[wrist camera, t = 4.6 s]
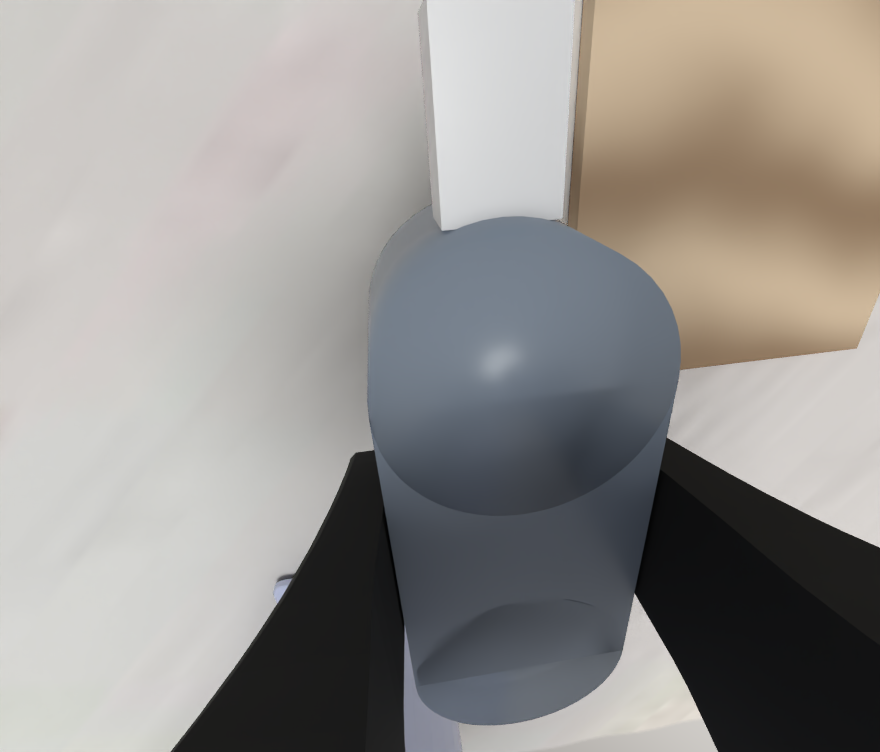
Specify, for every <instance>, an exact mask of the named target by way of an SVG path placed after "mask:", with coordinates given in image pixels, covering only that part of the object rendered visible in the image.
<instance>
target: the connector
mask: <svg viewBox="0 0 880 752" xmlns="http://www.w3.org/2000/svg"><path fill="white" fill-rule="evenodd" d="M574 9H575V0H423V2H422V4H421V6H420V9H419V11H418V23H419V37H420V50H421V63H422V77H423V90H424V104H425V117H426V131H427V144H428V158H429V171H430V184H431V198H432V205H430V206H427V207H426V208H424V209H423V210H421V211H420V212H418V213H416V214H415V215H413V216H412V217H411V218H410V219H409V220H408V221H406V222H405V223H404V224H403V225H402V226H401V227H400V228H399V229H398V230H397V231H396V232H395V234H394V235H393V236H392V237H391V238H390V240H389V241H388V243H387V244H386V246H385V247H384V249H383V251H382V253H381V255H380V257H379V259H378V261H377V263H376V266H375V269H374V272H373V275H372V279H371V284H370V290H369V323H368V399H367V402H368V412H369V422H370V427H371V433H372V439H373V444H374V450H375V456H376V462H377V467H378V473H379V479H380V485H381V490H382V496H383V502H384V508H385V513H386V519H387V525H388V531H389V536H390V542H391V548H392V554H393V559H394V565H395V571H396V577H397V582H398V588H399V594H400V600H401V605H402V611H403V617H404V623H405V628H406V634H407V640H408V646H409V651H410V657H411V663H412V669H413V674H414V680H415V686H416V690H417V693H418V695H419V697H420V699H421V701H422V702H423V703H424V704H425V705H426V706H427V707H428V708H429V709H430V710H432V711H433V712H434V713H436V714H438V715H440V716H442V717H444V718H447V719H449V720H452V721H456V722H460V723H466V724H472V725H503V724H512V723H518V722H523V721H528V720H532V719H536V718H539V717H542V716H545V715H548V714H551V713H554V712H556V711H559V710H561V709H563V708H565V707H568V706H569V705H571V704H573V703H575V702H577V701H579V700H580V699H582V698H583V697H585V696H587V695H588V694H589V693H591V692H592V691H593V690H595V689H596V688H597V687H598V686H599V685H601V684H602V683H603V682H604V681H605V680H606V679H607V677H608V676H609V675H610V674H611V673H612V671H613V670H614V668H615V667H616V665H617V663H618V661H619V659H620V657H621V654H622V650H623V646H624V641H625V636H626V631H627V626H628V621H629V616H630V612H631V607H632V602H633V597H634V592H635V587H636V583H637V578H638V573H639V568H640V563H641V558H642V553H643V549H644V544H645V539H646V534H647V529H648V524H649V519H650V515H651V510H652V505H653V500H654V495H655V490H656V486H657V481H658V476H659V471H660V466H661V461H662V456H663V452H664V447H665V442H666V437H667V432H668V427H669V423H670V418H671V413H672V408H673V403H674V398H675V393H676V389H677V384H678V379H679V371H680V364H681V343H680V337H679V330H678V325H677V322H676V319H675V316H674V313H673V310H672V308H671V306H670V304H669V302H668V300H667V298H666V297H665V295H664V293H663V292H662V290H661V289H660V288H659V286H658V285H657V284H656V283H655V281H654V280H653V279H652V277H650V276H649V275H648V274H647V273H646V272H645V271H644V270H643V269H642V268H641V267H639V266H638V265H637V264H636V263H634V262H633V261H631V260H629V259H628V258H626V257H625V256H623V255H622V254H620V253H618V252H616V251H614V250H612V249H611V248H609V247H607V246H605V245H603V244H601V243H599V242H597V241H596V240H594V239H592V238H590V237H588V236H586V235H584V234H582V233H580V232H579V231H577V230H575V229H573V228H571V227H569V226H567V225H565V224H564V223H562V222H560V221H558V220H556V219H563V204H564V187H565V169H566V151H567V133H568V116H569V98H570V80H571V62H572V44H573V27H574Z"/></svg>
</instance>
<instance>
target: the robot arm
mask: <svg viewBox="0 0 880 752" xmlns="http://www.w3.org/2000/svg"><path fill="white" fill-rule="evenodd" d="M634 593H635V595H636V596H637V598H638V600H639V602H640V603H641V605H642V607H643V608H644V610H645V612H646V614H647V615H648V617H649V619H650V620H651V622H652V624H653V626H654V627H655V629H656V631H657V632H658V634H659V636H660V638H661V639H662V641H663V643H664V645H665V646H666V648H667V650H668V651H669V653H670V655H671V657H672V658H673V660H674V662H675V664H676V666H677V668H678V670H679V671H680V673H681V675H682V677H683V679H684V681H685V683H686V685H687V686H688V689H689V691H690V693H691V695H692V697H693V699H694V701H695V703H696V705H697V708H698V710H699V712H700V714H701V716H702V718H703V720H704V722H705V725H706V727H707V729H708V731H709V733H710V735H711V737H712V739H713V742H714V744H715V746H716V748H717V750H718V752H880V548H879V547H877V546H875V545H872V544H870V543H868V542H866V541H863V540H861V539H859V538H857V537H854V536H852V535H850V534H848V533H845V532H843V531H841V530H839V529H837V528H834V527H832V526H830V525H828V524H826V523H824V522H822V521H820V520H818V519H816V518H813V517H811V516H809V515H807V514H805V513H803V512H802V511H800V510H798V509H796V508H794V507H792V506H790V505H788V504H786V503H784V502H782V501H780V500H778V499H776V498H774V497H772V496H770V495H768V494H766V493H764V492H762V491H761V490H759V489H757V488H755V487H753V486H751V485H749V484H747V483H746V482H744V481H742V480H740V479H738V478H736V477H735V476H733V475H731V474H729V473H727V472H726V471H724V470H722V469H720V468H719V467H717V466H715V465H713V464H711V463H710V462H708V461H706V460H704V459H703V458H701V457H699V456H697V455H696V454H694V453H692V452H691V451H689V450H687V449H685V448H684V447H682V446H680V445H678V444H677V443H675V442H673V441H672V440H670V439H668V438H666V442H665V447H664V452H663V456H662V461H661V466H660V471H659V476H658V481H657V486H656V490H655V495H654V500H653V505H652V510H651V515H650V519H649V524H648V529H647V534H646V539H645V544H644V549H643V553H642V558H641V563H640V568H639V573H638V578H637V583H636V587H635V592H634ZM274 597H275V600H276V602H277V605H276V607H275V608H274V610H273V611H272V613H271V615H270V616H269V618H268V619H267V621H266V622H265V624H264V625H263V627H262V628H261V630H260V631H259V633H258V634H257V636H256V637H255V639H254V640H253V642H252V643H251V645H250V646H249V648H248V649H247V650H246V652H245V653H244V655H243V656H242V658H241V659H240V661H239V662H238V663H237V665H236V666H235V668H234V669H233V670H232V672H231V673H230V674H229V676H228V677H227V678H226V680H225V681H224V682H223V684H222V685H221V687H220V688H219V689H218V691H217V692H216V693H215V695H214V696H213V697H212V699H211V700H210V701H209V703H208V704H207V705H206V707H205V708H204V710H203V711H202V712H201V714H200V715H199V716H198V718H197V719H196V720H195V721H194V723H193V724H192V725H191V727H190V728H189V729H188V730H187V732H186V733H185V734H184V736H183V737H182V738H181V739H180V741H179V742H178V743H177V744H176V746H175V747H174V748H173V749H172V751H171V752H462V745H461V738H460V731H459V724H458V722H456V721H452V720H449V719H447V718H444V717H442V716H440V715H438V714H436V713H434V712H433V711H432V710H430V709H429V708H428V707H427V706H426V705H425V704H424V703H423V702H422V701H421V699H420V697H419V695H418V693H417V690H416V686H415V680H414V674H413V669H412V663H411V657H410V651H409V646H408V640H407V634H406V628H405V623H404V617H403V611H402V605H401V600H400V594H399V588H398V582H397V577H396V571H395V565H394V559H393V554H392V548H391V542H390V536H389V531H388V525H387V519H386V513H385V508H384V502H383V496H382V490H381V485H380V479H379V473H378V467H377V462H376V456H375V450H373V451H365V452H358V453H355V454H354V455H353V457H352V458H351V459H350V462H349V465H348V468H347V471H346V473H345V476H344V478H343V481H342V483H341V485H340V488H339V490H338V492H337V495H336V497H335V499H334V501H333V503H332V506H331V508H330V510H329V512H328V514H327V516H326V518H325V520H324V522H323V524H322V526H321V528H320V530H319V532H318V534H317V536H316V538H315V540H314V541H313V543H312V545H311V547H310V549H309V551H308V553H307V554H306V556H305V558H304V559H303V561H302V563H301V565H300V566H299V568H298V570H297V572H296V573H295V575H294V577H293V578H292V579H285V580H281V581H279V582H277V583H276V585H275V587H274Z"/></svg>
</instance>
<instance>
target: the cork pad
mask: <svg viewBox="0 0 880 752" xmlns="http://www.w3.org/2000/svg"><path fill="white" fill-rule="evenodd" d="M568 226H569V227H571V228H573V229H575V230H577V231H579V232H580V233H582V234H584V235H586V236H588V237H590V238H592V239H594V240H596V241H597V242H599V243H601V244H603V245H605V246H607V247H609V248H611V249H612V250H614V251H616V252H618V253H620V254H622V255H623V256H625V257H626V258H628V259H629V260H631V261H633V262H634V263H636V264H637V265H638V266H639V267H641V268H642V269H643V270H644V271H645V272H646V273H647V274H648V275H649V276H650V277H652V279H653V280H654V281H655V283H656V284H657V285H658V286H659V288H660V289H661V290H662V292H663V293H664V295H665V297H666V298H667V300H668V302H669V304H670V306H671V308H672V310H673V313H674V316H675V319H676V322H677V325H678V330H679V337H680V343H681V364H680V370H683V369H691V368H699V367H707V366H716V365H724V364H732V363H740V362H749V361H757V360H765V359H773V358H782V357H790V356H798V355H806V354H815V353H823V352H831V351H839V350H848V349H856V348H857V347H858V344H859V342H860V339H861V337H862V334H863V332H864V330H865V327H866V325H867V322H868V320H869V317H870V315H871V313H872V310H873V308H874V305H875V303H876V300H877V298H878V295H879V293H880V0H583V13H582V28H581V42H580V57H579V71H578V86H577V100H576V115H575V129H574V144H573V159H572V173H571V188H570V202H569V217H568Z"/></svg>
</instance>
